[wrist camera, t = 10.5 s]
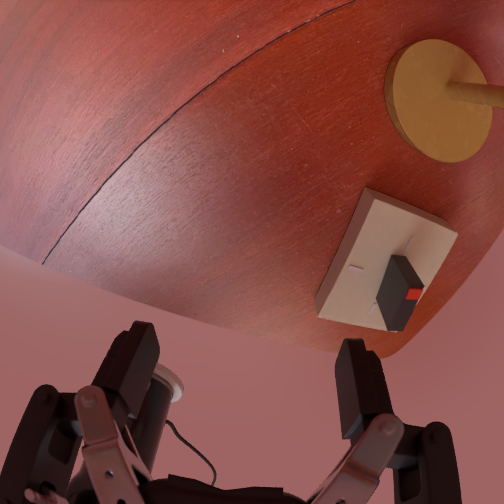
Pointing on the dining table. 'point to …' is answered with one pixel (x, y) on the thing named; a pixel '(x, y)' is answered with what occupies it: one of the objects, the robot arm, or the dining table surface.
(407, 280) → the dimmer knob
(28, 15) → the dining table surface
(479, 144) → the lamp
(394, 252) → the dimmer panel
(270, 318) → the dining table surface
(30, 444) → the robot arm
